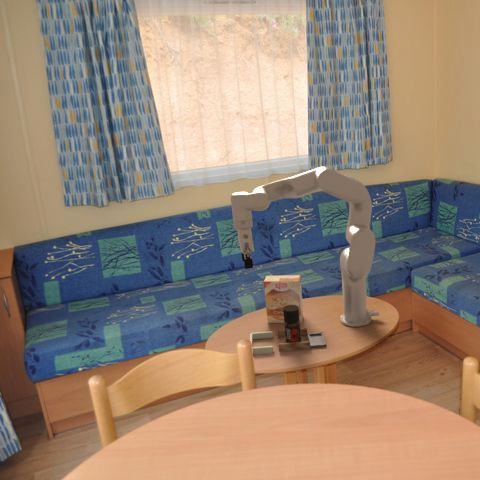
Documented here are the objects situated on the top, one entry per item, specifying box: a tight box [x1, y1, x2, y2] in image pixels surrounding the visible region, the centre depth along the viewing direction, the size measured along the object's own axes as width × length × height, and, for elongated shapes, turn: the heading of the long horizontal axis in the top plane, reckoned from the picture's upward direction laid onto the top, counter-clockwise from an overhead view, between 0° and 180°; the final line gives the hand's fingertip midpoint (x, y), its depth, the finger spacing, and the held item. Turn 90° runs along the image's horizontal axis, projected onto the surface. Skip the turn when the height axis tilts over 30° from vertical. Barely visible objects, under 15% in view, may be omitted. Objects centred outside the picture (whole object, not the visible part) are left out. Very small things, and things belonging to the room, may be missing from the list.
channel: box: [276, 327, 312, 352], centre depth 181 cm, size 12×12×3 cm
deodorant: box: [283, 305, 302, 343], centre depth 179 cm, size 6×6×15 cm
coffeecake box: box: [263, 274, 304, 324], centre depth 199 cm, size 15×7×20 cm, turn 77°
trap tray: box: [307, 331, 327, 349], centre depth 180 cm, size 6×10×1 cm, turn 177°
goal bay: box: [249, 330, 275, 355], centre depth 182 cm, size 9×13×2 cm
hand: (247, 264), depth 187 cm, fingers open, 9 cm apart
